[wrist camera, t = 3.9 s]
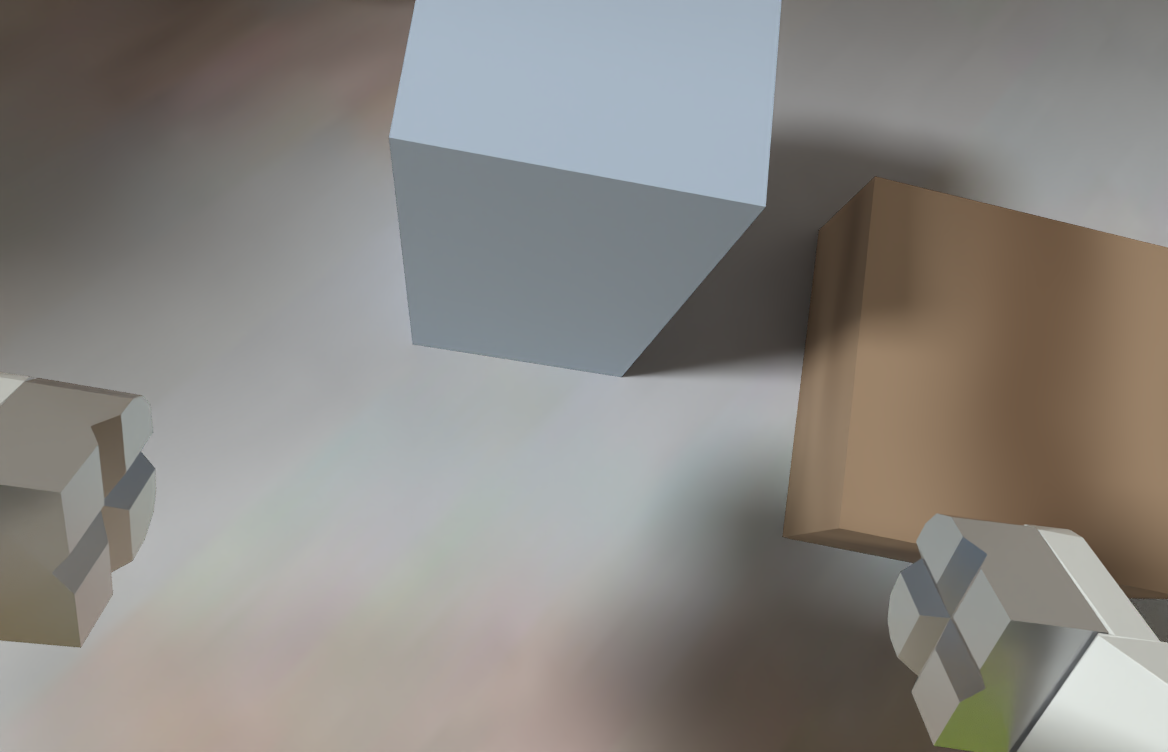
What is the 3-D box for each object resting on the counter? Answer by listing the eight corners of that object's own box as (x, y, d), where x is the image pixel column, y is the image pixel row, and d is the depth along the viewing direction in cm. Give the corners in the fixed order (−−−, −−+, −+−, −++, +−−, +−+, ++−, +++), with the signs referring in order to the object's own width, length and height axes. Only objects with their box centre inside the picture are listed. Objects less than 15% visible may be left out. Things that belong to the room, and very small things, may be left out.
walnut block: (777, 537, 22) (839, 527, 18) (813, 235, 24) (875, 176, 20) (1081, 597, 22) (1194, 599, 19) (1091, 300, 25) (1194, 254, 21)
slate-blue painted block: (412, 343, 21) (388, 137, 11) (446, 151, 22) (450, -182, 13) (621, 376, 22) (765, 206, 12) (642, 188, 23) (789, -104, 13)
